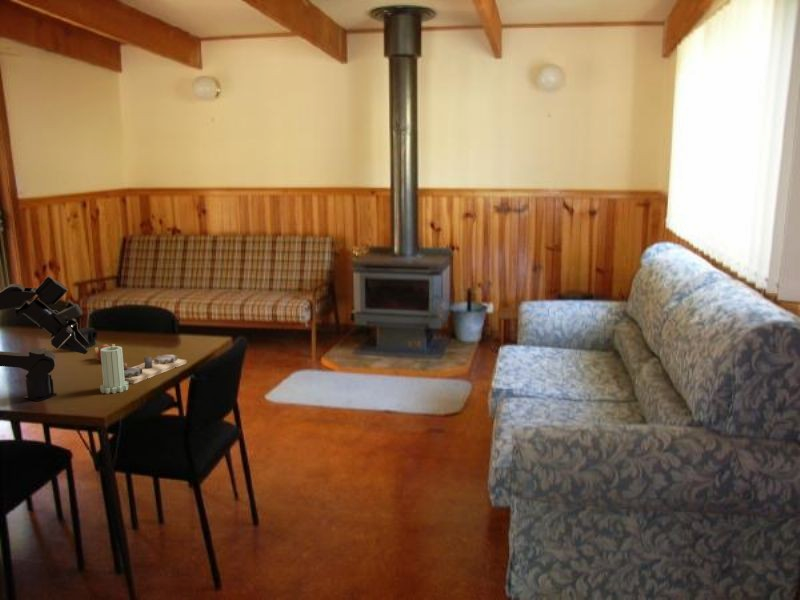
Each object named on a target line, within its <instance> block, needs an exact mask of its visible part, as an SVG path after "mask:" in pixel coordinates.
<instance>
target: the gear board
mask: <svg viewBox="0 0 800 600" xmlns="http://www.w3.org/2000/svg"><path fill="white" fill-rule="evenodd" d="M143 361H144V362H143V363H140V364H138V365H135V366H132V367H131V366H128V364H127V362H123V365H124V377H125V381H127V382H128V383H129V384H133V385H134V384H138V383H140V382H141V381H145V380H147V378H148V379H150V378H152V377H154V376H158V375H161V374H162V373H165V372H168V371H170V370H173V369H175V367H176V368H177V367H181V366H182V365H183V366H184V365H186V364H188V363H187V359H183V358H178V355H175V353H174V354H162V355H156V357H154V358H153V357H152V356H146V357H143Z"/></svg>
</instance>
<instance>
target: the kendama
mask: <svg viewBox="0 0 800 600" xmlns="http://www.w3.org/2000/svg"><path fill="white" fill-rule="evenodd" d="M110 346H111V347H112V346H116V344H115V343H112V344H111V345H109V344H102V345H101V347H99V346H98V347H94V352H95V356H96V360H97V361H101V352H100V350H101V349H102V348H105V347H110Z"/></svg>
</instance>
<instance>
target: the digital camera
mask: <svg viewBox="0 0 800 600" xmlns="http://www.w3.org/2000/svg"><path fill="white" fill-rule="evenodd" d="M78 330H79V332H80V333H81V334H82V335H83V337H84V338H85V339H86V340H87V342H88V343H89V345H88V346H87V347H86V346H83V345H82V346H83V347H84V348H85V349H86V350H88V349H90V348H92V347H94V346H96V345H95V344H96V343H97V342H96V340H97V339H98V332H97V330H96V329H95V327H82V328H80V329H79V328H78ZM89 347H90V348H89ZM87 348H88V349H87Z"/></svg>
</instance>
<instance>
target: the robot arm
mask: <svg viewBox="0 0 800 600" xmlns="http://www.w3.org/2000/svg"><path fill="white" fill-rule="evenodd" d="M68 292H69V289H68V288H67V287H66V285H64V284H63V283H62V282H60V281H58V280H56V279H55V278H52V277H51V276H50V275H47V277H45V279H44V281H42V282H41V283H40V284H39V285H38V286H37V287H26V286H23V285H21V284H19V283H12V284H9V285H7V286H6V287H4V288H2V290H0V311H3V310H8V309H11V308H14V312H15V318H16V319H19V318H20V317H21V316H22V315H24V316H26V317H27V318H28V319H29V320H30V321H32V322H33V323H34V324H36V325H38V328H39V329H40V330H44V331H46V332H47V333H48V334H50V337H51V340H50V342H51V343H50V344H51V346H53V347H54V348H56V349H59V350H61V349H62V350H66V351H70V352H71V351H74V352H75V353H78V354H83V355H87V353H88V349H85V348H84V347H83V346H86V347H87V346H88V345H89V343H88V342H87V340H86V339H85V338H84V337H83V335H82V334H81V333H80V332H79V328H78V325H79V324H78V322H77V319H76V318H79V317H80V316H82V315H83V310H82V309H81V308H80V305H79V304H78V303H73V302H72V301H70V302H68V303H65V308H63V310H61V311H58V310H57V309H52V308H50V307H49V306H50V305H51V304H52V305H56V303H58V302H59V301H60V299H62V298H63V297H64V296H65V294H66V293H68ZM35 296H36V297H35ZM34 297H35V298H34ZM32 299H33V300H32ZM29 300H31V301H29ZM24 301H25V302H24ZM22 303H23V304H22ZM20 305H21V306H20ZM18 306H20V307H18ZM82 345H83V346H82ZM56 361H57V360H56V355H55V354H54V353H53V351H50V350H47V348H46V347H45V348H37V347H33V346H32V347H31V346H30V348H29V351H28V352H13V351H2V350H0V367H5V368H6V367H7V368H18V369H19V368H20V369H22V370H25V371H26V373H25V384H26V386H25V387H26V393H27V394H26V395H25V396H23V398H24V399H26V400H31V401H36V402H40V401H41V402H42V401H43V400H46V399H49V398H52V397H54V396H57V395H58V393H57V392H55V389H54V380H53V377H52V374H50V373H51V372H52V371H53V370H54V369H55V366H56Z"/></svg>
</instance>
